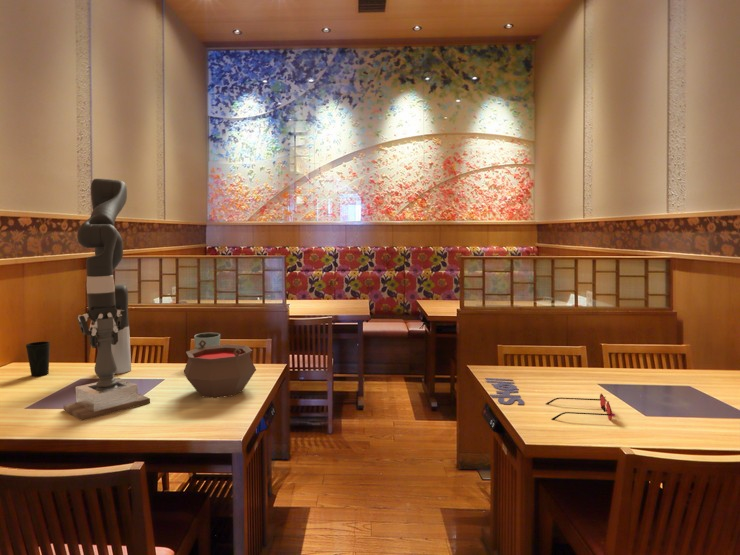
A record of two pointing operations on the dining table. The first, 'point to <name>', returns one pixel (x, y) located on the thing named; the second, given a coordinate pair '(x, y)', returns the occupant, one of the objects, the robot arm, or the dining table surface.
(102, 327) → the candle holder
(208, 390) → the brown cauldron
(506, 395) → the signage
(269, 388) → the dining table surface
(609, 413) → the glasses
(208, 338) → the grey cylindrical container
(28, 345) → the cup
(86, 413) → the socket board
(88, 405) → the square collar
